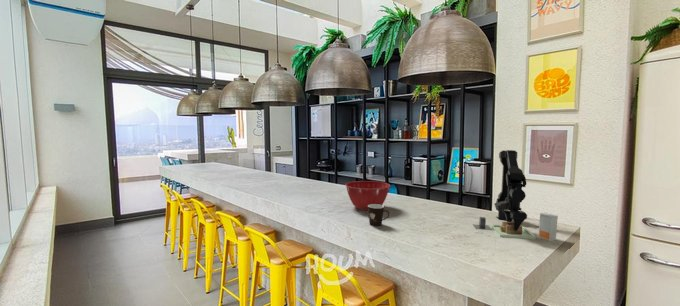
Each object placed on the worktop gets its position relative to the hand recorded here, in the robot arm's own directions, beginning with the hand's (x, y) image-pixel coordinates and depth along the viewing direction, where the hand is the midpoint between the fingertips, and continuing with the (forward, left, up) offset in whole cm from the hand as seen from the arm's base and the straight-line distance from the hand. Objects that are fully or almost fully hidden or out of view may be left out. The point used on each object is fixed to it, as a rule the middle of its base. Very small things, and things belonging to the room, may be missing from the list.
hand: (512, 227), depth 161 cm
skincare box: (+5, +14, -3) cm, 15 cm away
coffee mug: (0, -67, -3) cm, 67 cm away
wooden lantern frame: (0, 0, -2) cm, 2 cm away
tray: (0, 0, -3) cm, 3 cm away
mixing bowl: (-35, -75, -3) cm, 83 cm away
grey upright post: (-6, -13, -3) cm, 14 cm away
